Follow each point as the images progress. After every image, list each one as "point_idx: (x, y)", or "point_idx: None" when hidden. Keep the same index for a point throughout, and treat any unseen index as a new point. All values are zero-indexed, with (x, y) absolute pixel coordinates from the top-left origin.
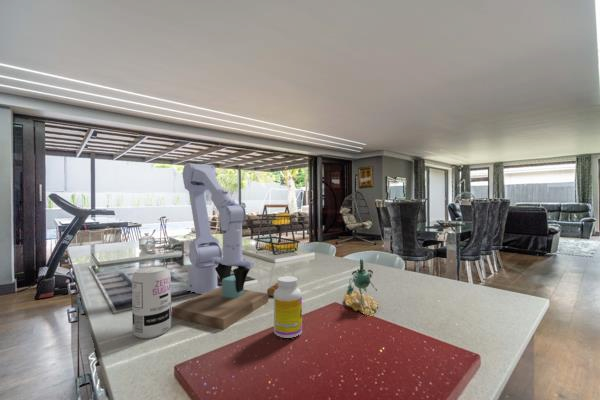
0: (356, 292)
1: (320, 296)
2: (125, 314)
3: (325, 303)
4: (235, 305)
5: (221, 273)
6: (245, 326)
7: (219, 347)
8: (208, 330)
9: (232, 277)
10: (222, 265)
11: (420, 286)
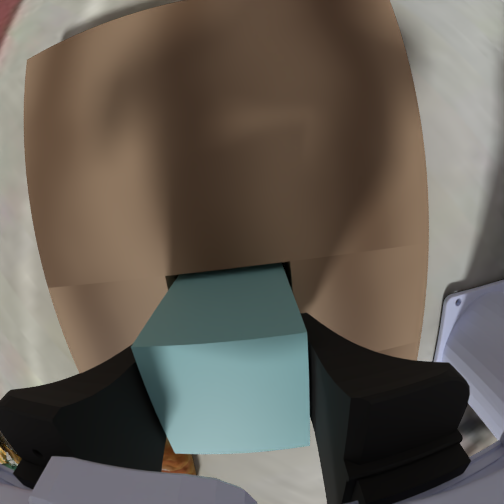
0: (3, 462)
1: None
2: (495, 11)
3: None
4: (78, 200)
5: (335, 375)
6: (9, 145)
7: (12, 20)
8: (97, 25)
9: (253, 419)
10: (391, 478)
11: None
